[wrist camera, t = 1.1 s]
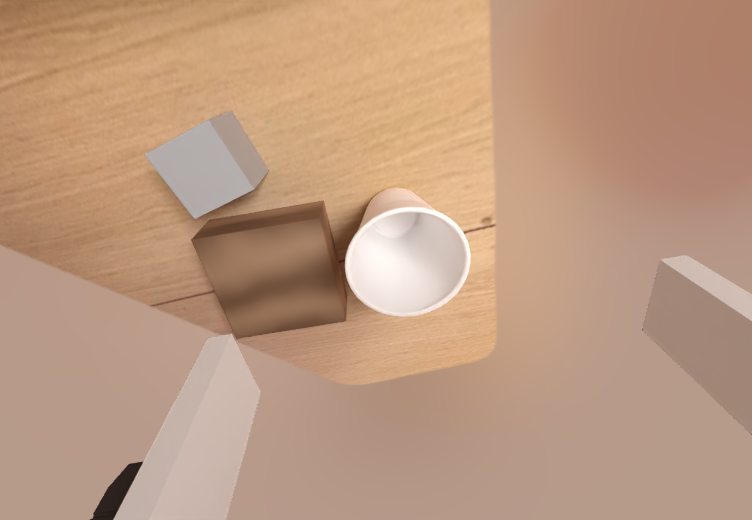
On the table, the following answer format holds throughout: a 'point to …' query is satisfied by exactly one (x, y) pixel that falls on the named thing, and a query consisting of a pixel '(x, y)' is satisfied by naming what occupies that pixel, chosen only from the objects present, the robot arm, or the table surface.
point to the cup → (406, 256)
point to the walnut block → (274, 269)
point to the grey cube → (209, 164)
